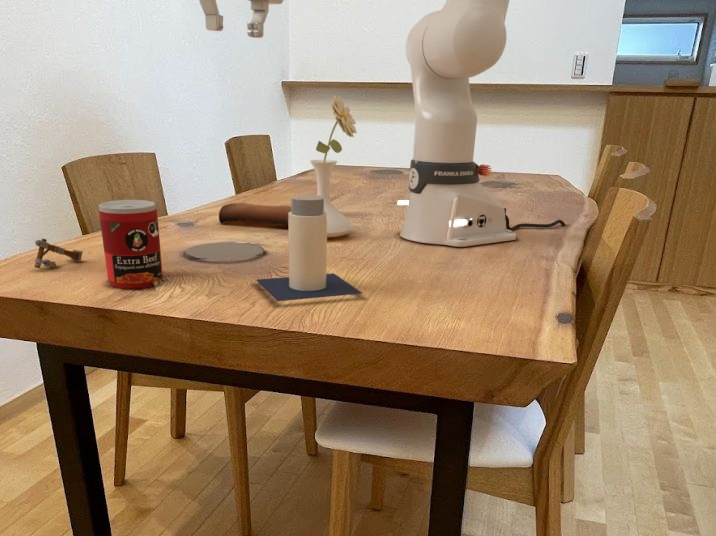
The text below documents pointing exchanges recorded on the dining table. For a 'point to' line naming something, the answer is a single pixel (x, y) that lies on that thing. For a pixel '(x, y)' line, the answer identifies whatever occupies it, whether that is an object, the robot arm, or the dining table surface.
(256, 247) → the coaster
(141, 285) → the canned food
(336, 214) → the flower in vase
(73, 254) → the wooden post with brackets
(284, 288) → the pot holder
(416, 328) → the dining table surface
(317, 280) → the shaker
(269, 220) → the sunglasses case
